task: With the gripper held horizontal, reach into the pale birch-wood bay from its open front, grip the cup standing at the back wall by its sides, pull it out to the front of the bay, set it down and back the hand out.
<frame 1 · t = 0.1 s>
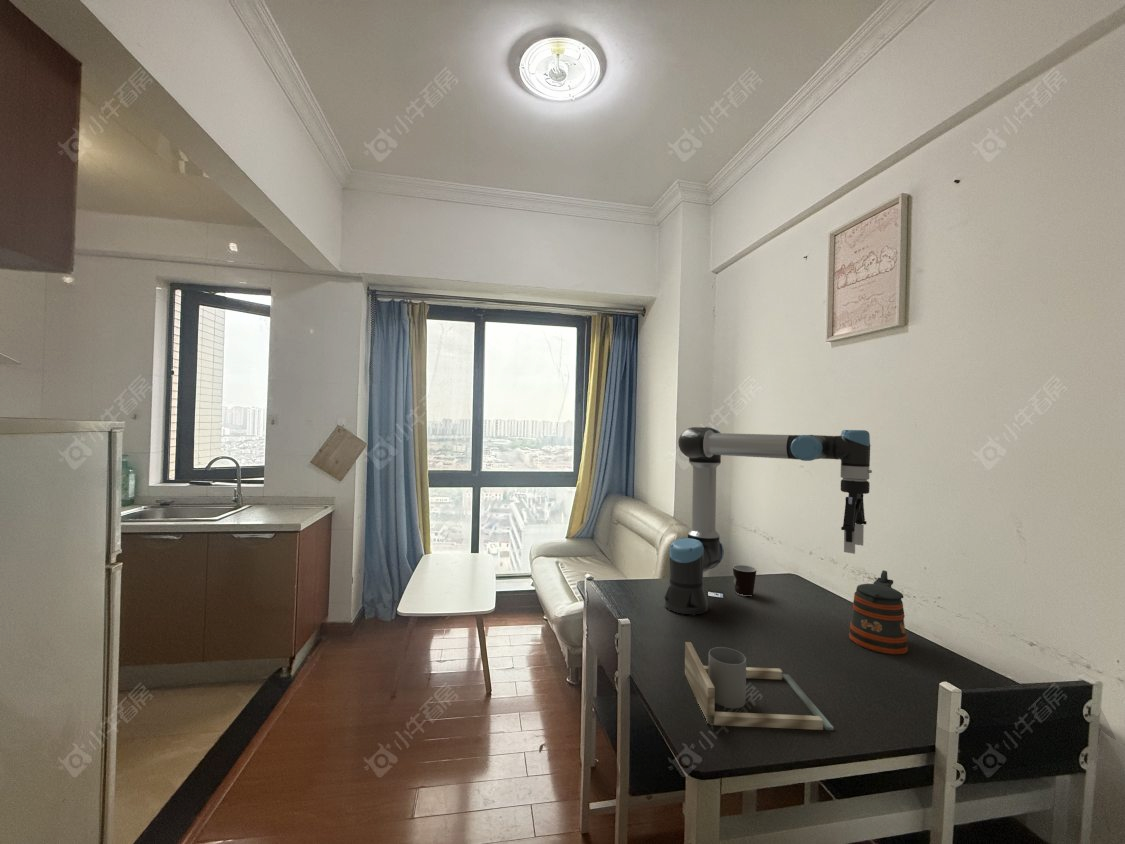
hand: (853, 548, 140), 28 cm above the table, tool pointing down, fingers open, 13 cm apart
beer stein: (878, 641, 140), on the table
cup: (726, 698, 108), resting in bay
coffee mug: (744, 593, 179), on the table
bay: (726, 697, 108), on the table
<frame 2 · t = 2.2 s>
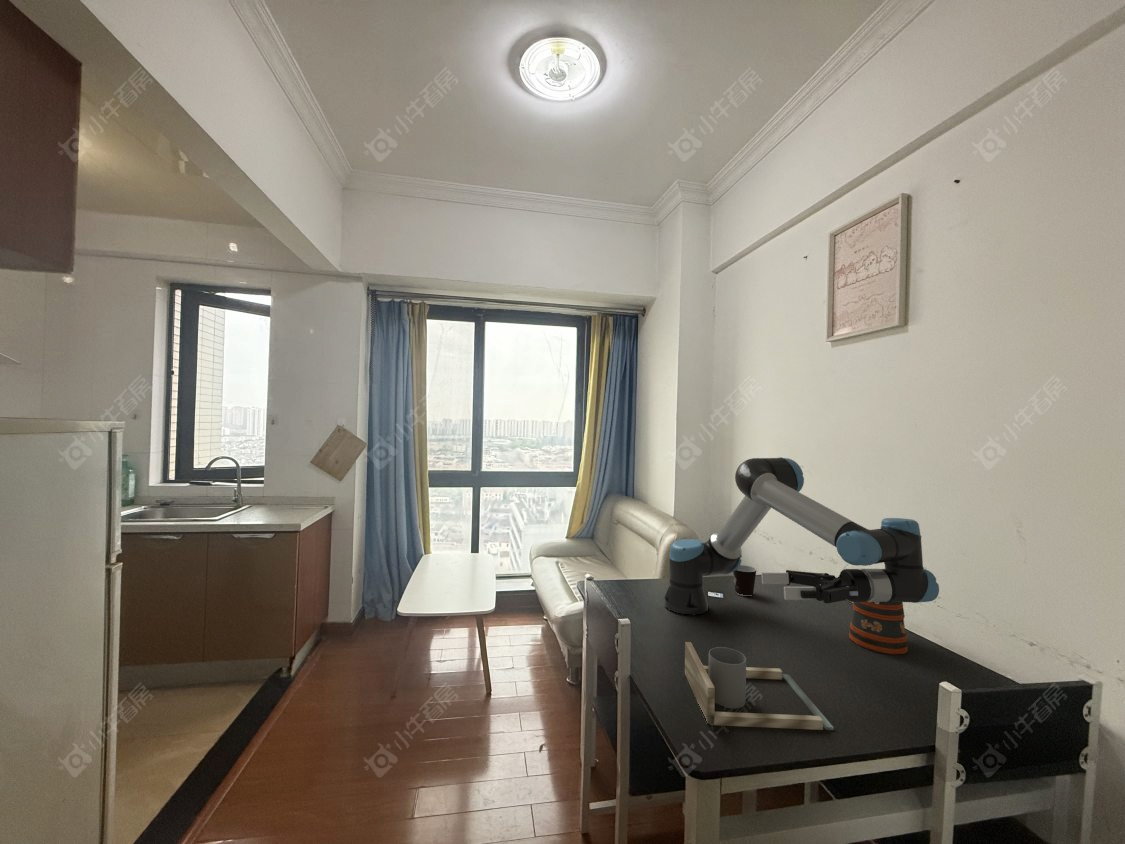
hand: (772, 585, 110), 26 cm above the table, tool horizontal, fingers open, 13 cm apart
nothing on the table moved.
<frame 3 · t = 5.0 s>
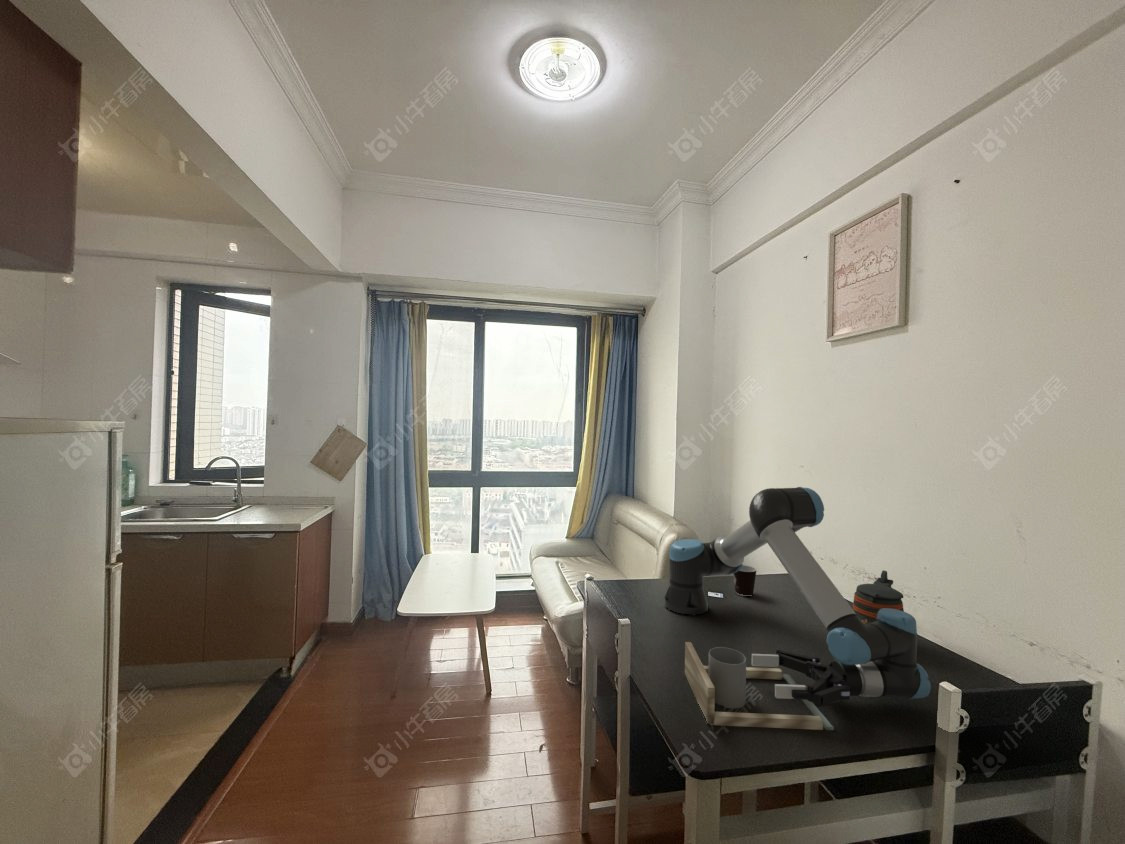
hand: (762, 674, 108), 6 cm above the table, tool horizontal, fingers open, 13 cm apart
nothing on the table moved.
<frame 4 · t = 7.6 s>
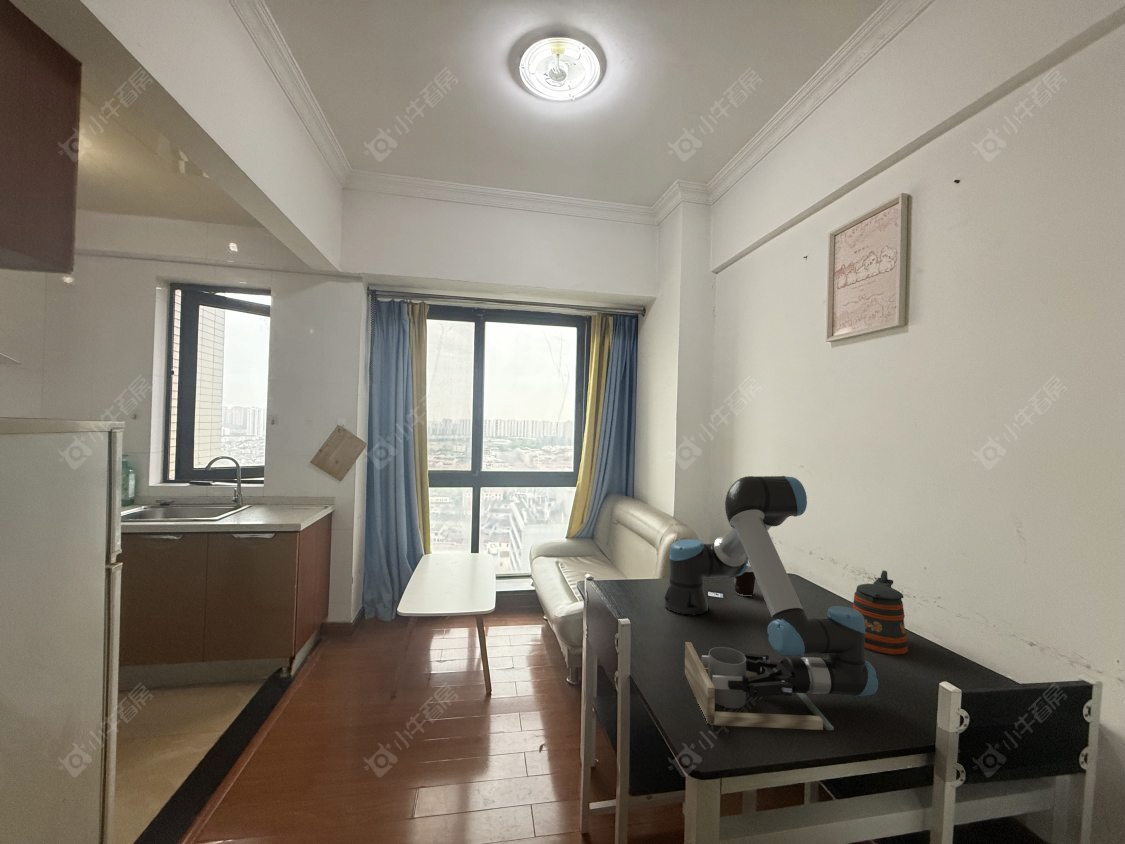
hand: (707, 671, 109), 6 cm above the table, tool horizontal, fingers closed on cup, 8 cm apart
cup: (726, 698, 108), resting in bay, touching gripper
everything else where it was.
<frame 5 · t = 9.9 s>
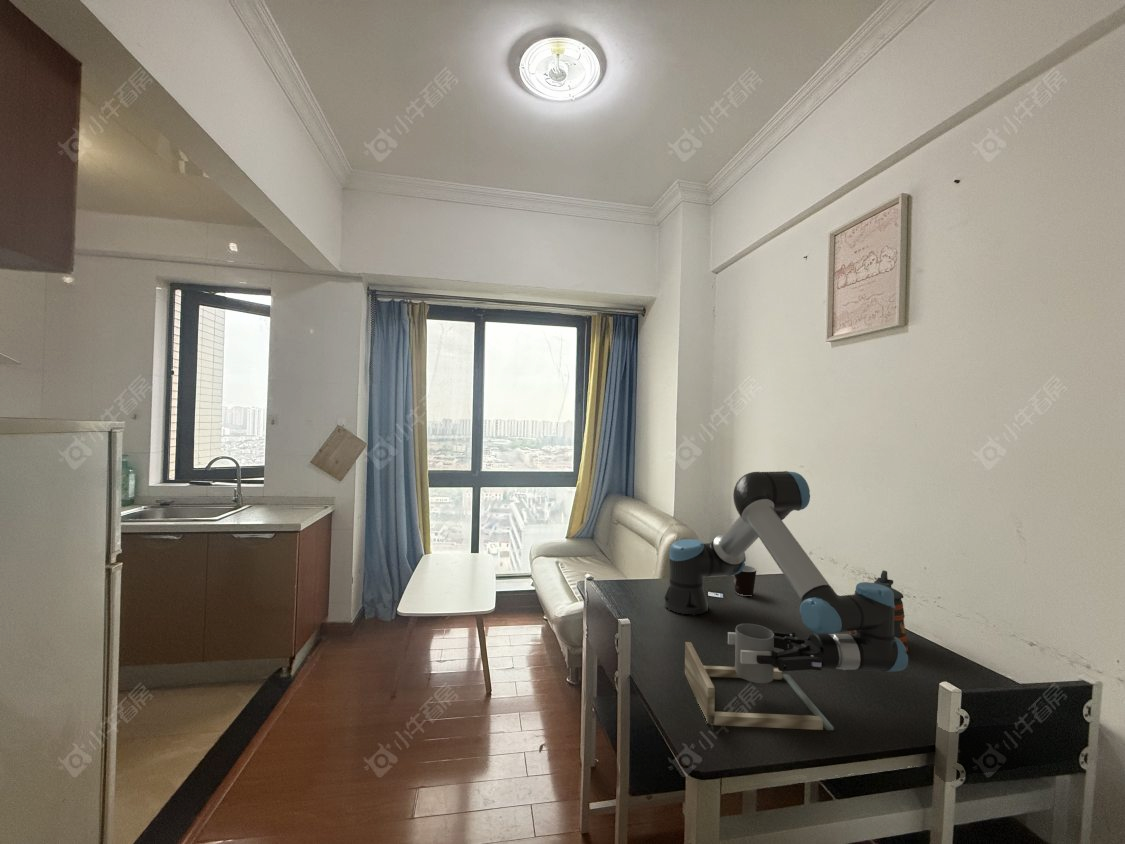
hand: (734, 647, 108), 12 cm above the table, tool horizontal, fingers closed on cup, 8 cm apart
cup: (754, 674, 108), point 6 cm above the table, touching gripper
everything else where it was.
when the fingers open (7 cm above the table, at t = 12.3 s): cup drops 1 cm, resting in bay.
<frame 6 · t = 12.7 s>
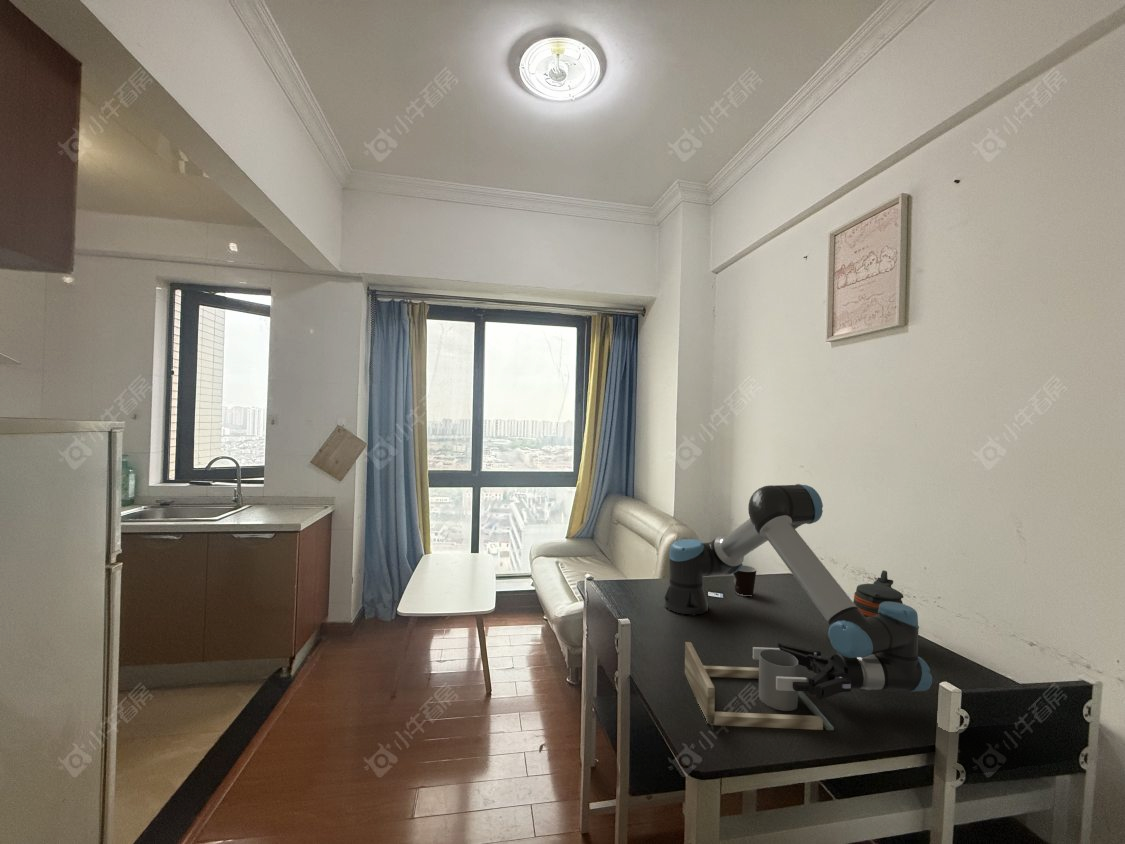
hand: (764, 667, 108), 7 cm above the table, tool horizontal, fingers open, 13 cm apart
cup: (778, 700, 108), resting in bay
everything else where it was.
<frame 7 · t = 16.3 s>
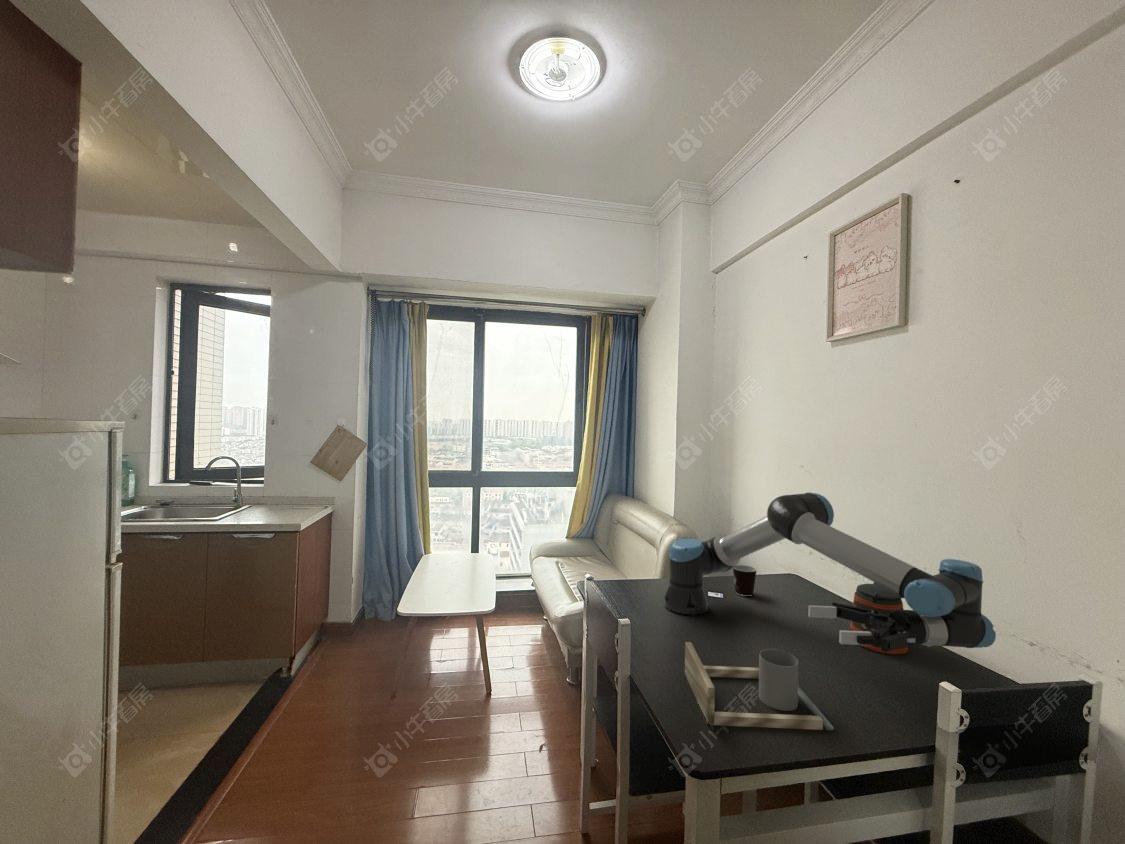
hand: (823, 623, 107), 19 cm above the table, tool horizontal, fingers open, 13 cm apart
nothing on the table moved.
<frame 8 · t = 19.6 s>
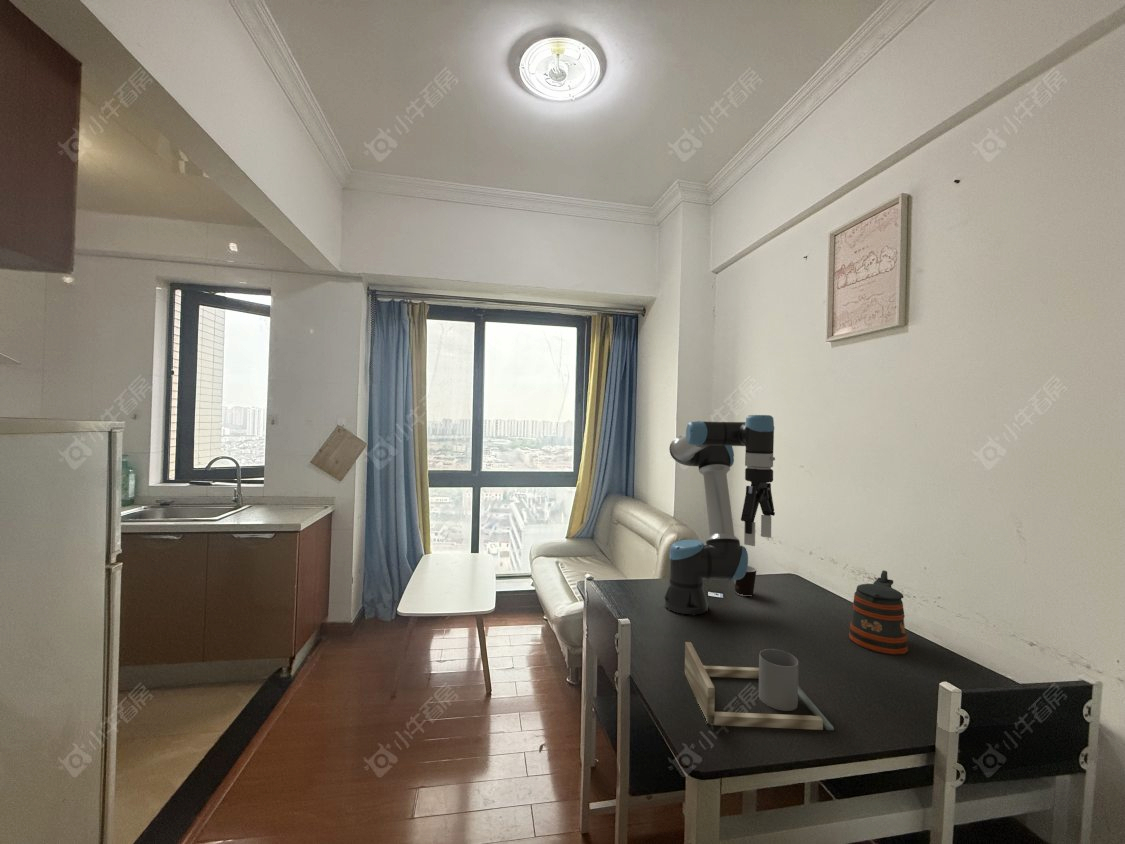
hand: (758, 541, 132), 32 cm above the table, tool pointing down, fingers open, 13 cm apart
nothing on the table moved.
at the end: cup inside the target area on the bay (0.2 cm from its centre), point 0.0 cm above the bay's base; cup tilted 0°; the gripper is holding nothing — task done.
